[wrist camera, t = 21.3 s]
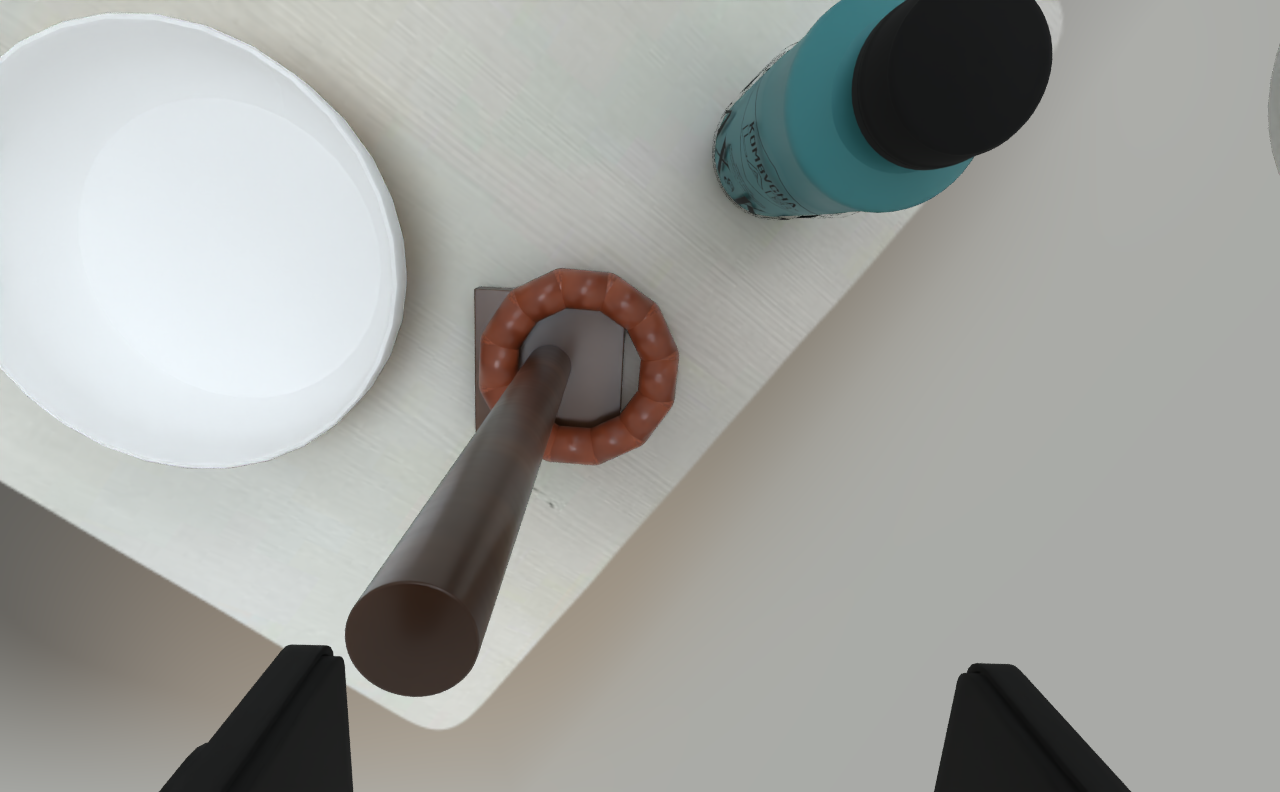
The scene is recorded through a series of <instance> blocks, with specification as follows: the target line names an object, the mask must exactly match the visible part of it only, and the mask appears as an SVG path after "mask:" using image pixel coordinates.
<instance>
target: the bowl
mask: <svg viewBox="0 0 1280 792" xmlns="http://www.w3.org/2000/svg"><path fill="white" fill-rule="evenodd" d="M406 286H407V273H406V260H405V248H404V239H403V235H402V232H401V228H400V224H399V221H398V217H397V213H396V210H395V206H394V203H393V199H392V197H391V195H390V193H389V191H388V188H387V186H386V184H385V182H384V180H383V178H382V176H381V174H380V172H379V170H378V168H377V166H376V164H375V162H374V159H373V158H372V156H371V155H370V153H369V152H368V151H367V149H366V148H365V147H364V145H363V144H362V142H361V141H360V140H359V138H358V137H357V135H356V134H355V133H354V131H353V130H352V129H351V127H350V126H349V124H348V123H347V122H346V120H345V119H344V118H343V117H342V116H341V115H339V114H338V113H337V112H336V111H335V110H334V109H333V108H332V107H331V106H330V105H329V104H328V103H327V102H326V101H325V100H324V99H323V98H322V97H321V96H320V95H319V94H318V93H317V92H316V91H315V90H314V89H313V88H312V87H310V86H309V85H308V84H307V83H305V82H304V81H303V80H302V79H300V78H299V77H298V76H296V75H295V74H293V73H292V72H291V71H289V70H288V69H286V68H285V67H283V66H282V65H280V64H279V63H277V62H276V61H274V60H273V59H271V58H270V57H268V56H267V55H266V54H264V53H263V52H261V51H260V50H258V49H257V48H255V47H254V46H252V45H250V44H247V43H245V42H243V41H241V40H238V39H236V38H234V37H232V36H229V35H227V34H225V33H223V32H220V31H218V30H216V29H214V28H211V27H209V26H207V25H203V24H199V23H195V22H190V21H186V20H182V19H177V18H173V17H169V16H164V15H160V14H149V13H103V14H98V15H93V16H88V17H83V18H78V19H73V20H68V21H63V22H60V23H58V24H56V25H53V26H51V27H49V28H47V29H45V30H43V31H41V32H38V33H36V34H34V35H32V36H30V37H28V38H26V39H23V40H21V41H19V42H18V43H17V44H16V45H14V46H13V47H12V48H11V49H10V50H8V51H7V52H6V53H5V54H3V55H2V56H1V57H0V368H1V369H2V370H3V371H4V372H5V373H6V374H7V376H8V377H9V378H10V379H11V380H12V381H13V382H14V383H15V384H16V385H17V386H18V387H19V388H20V389H21V390H22V391H23V392H24V393H25V394H26V395H27V397H29V398H30V399H31V400H33V401H34V402H35V403H37V404H38V405H39V406H41V407H42V408H43V409H44V410H46V411H47V412H48V413H50V414H51V415H52V416H54V417H55V418H56V419H58V420H59V421H60V422H61V423H63V424H64V425H66V426H68V427H70V428H71V429H73V430H75V431H77V432H79V433H81V434H82V435H84V436H86V437H88V438H90V439H92V440H94V441H95V442H97V443H99V444H101V445H103V446H105V447H108V448H111V449H113V450H116V451H119V452H122V453H125V454H128V455H131V456H133V457H136V458H139V459H142V460H145V461H149V462H154V463H160V464H166V465H172V466H177V467H183V468H234V467H239V466H245V465H250V464H255V463H260V462H265V461H270V460H272V459H275V458H277V457H279V456H282V455H284V454H287V453H289V452H292V451H294V450H297V449H299V448H301V447H304V446H306V445H307V444H309V443H310V442H312V441H313V440H315V439H316V438H317V437H319V436H320V435H322V434H323V433H325V432H326V431H328V430H329V429H331V428H332V427H334V426H335V425H336V424H337V423H338V422H339V421H340V420H341V419H342V418H343V417H344V416H345V415H346V414H347V413H348V412H349V411H350V410H351V409H352V408H353V407H354V405H355V404H356V403H357V402H358V401H359V400H360V399H361V398H362V397H363V396H364V395H365V394H366V392H367V391H368V390H369V389H370V388H371V387H372V385H373V384H374V382H375V380H376V379H377V377H378V375H379V374H380V372H381V370H382V369H383V367H384V365H385V364H386V362H387V360H388V359H389V357H390V355H391V353H392V350H393V347H394V344H395V341H396V338H397V335H398V332H399V329H400V326H401V323H402V320H403V312H404V303H405V295H406Z"/></svg>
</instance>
